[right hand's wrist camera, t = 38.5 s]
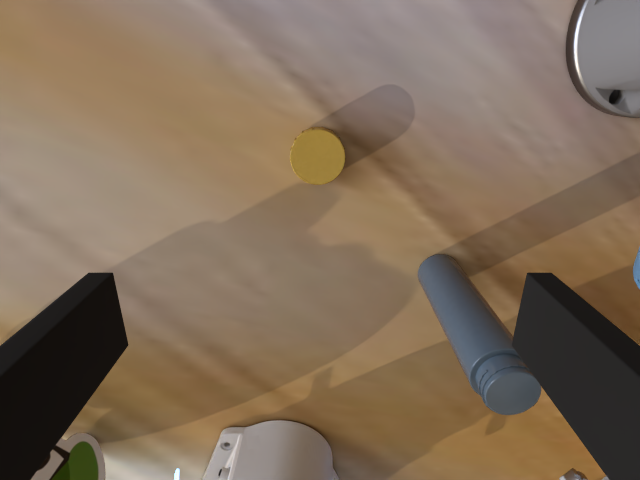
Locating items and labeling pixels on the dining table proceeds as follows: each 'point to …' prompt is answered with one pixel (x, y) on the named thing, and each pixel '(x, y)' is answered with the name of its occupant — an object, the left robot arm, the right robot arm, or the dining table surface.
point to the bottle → (478, 338)
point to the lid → (317, 156)
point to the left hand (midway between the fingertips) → (612, 445)
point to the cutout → (73, 460)
